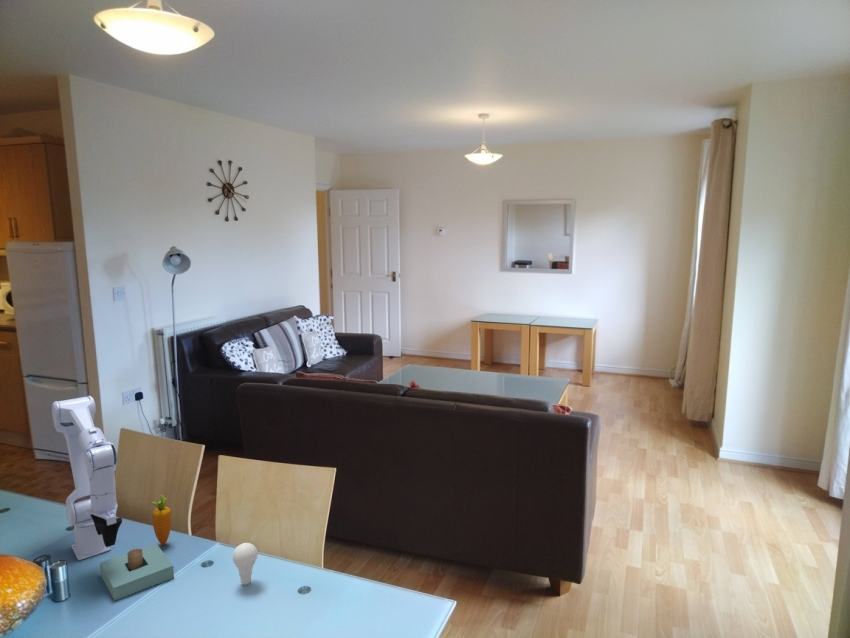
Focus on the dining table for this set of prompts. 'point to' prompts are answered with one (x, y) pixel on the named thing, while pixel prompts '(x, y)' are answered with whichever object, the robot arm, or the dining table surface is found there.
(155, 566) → the socket block
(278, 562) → the dining table surface
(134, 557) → the peg
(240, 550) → the lightbulb
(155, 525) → the carrot
